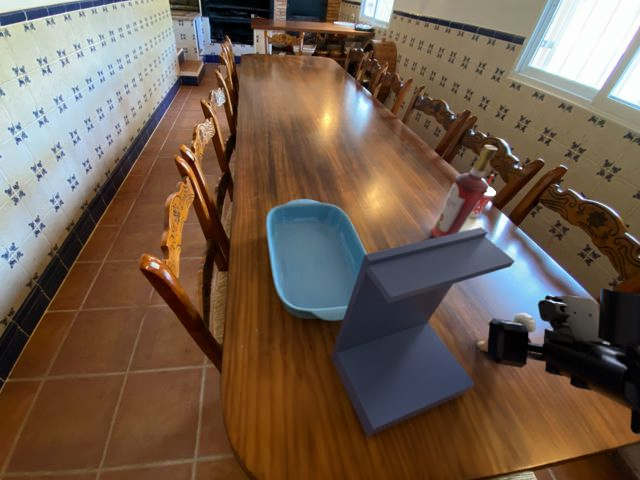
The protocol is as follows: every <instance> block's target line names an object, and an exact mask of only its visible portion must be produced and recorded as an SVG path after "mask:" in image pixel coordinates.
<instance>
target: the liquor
mask: <svg viewBox="0 0 640 480" xmlns="http://www.w3.org/2000/svg"><path fill="white" fill-rule="evenodd" d="M497 151H498V148H497V146H494V145H492V144H484V146H483V147H482V149H481V151H480V154H479V157H478V159H477V160H476V162H475V164H474V165H473V166H472V168H471V170H470V171H469V172H464V173H461V174H460V173H459V174H458V175H456V177H455V179H454V181H453V183H452V185H451V188H450V190H449V192H448V195H447V197H446V199H445V201H444V202H445V203H444V205H443V207H442V209H441V212H440V213H439V216H438V218H437V220H436V222H435V224H434V226H433V227H432V228H430V234H431V236H432V237H433V238H438V237H442V236H446V235H450V234H455V233H459V232H461V230H462V228H463V227H464V225H465V224H466V222H467V221H468V219H469V218H470V215H471V213H472V212H473V210H474V209H475V207H476V206H477V205H478V203H479V202H480V200H481V198H482V197H483V195H484V194H485V192H486V191H487V189H488V188H489V187H490V186H489V185H488V184H487V183H488V181H486V179H485V178H483V177H484V175H485V173H486V170H487V168H488V166H489V163H490V161H492V159H493V158H494V157H495V155H496V153H497Z"/></svg>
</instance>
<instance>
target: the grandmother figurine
mask: <svg viewBox="0 0 640 480" xmlns="http://www.w3.org/2000/svg"><path fill="white" fill-rule="evenodd" d="M500 320H502V319H500ZM505 320H506V321H510V320H509V319H505ZM490 321H491V320H488V321H487V325H488V326H489V325H490ZM512 322H516V323H520V324H523V325H525V327H526V329H527V331H528V333H533V332H535V331H536V329H537V324H536V321H535V320H534V317H533V316H531V315H529V314H528V313H526V312H518V313H516V314H515V315H514V319H513V320H512ZM528 342H529V343H532V340H531V338H530V337H529V338H528ZM476 345H477V348H478V349H479V350H481V351H482V352H487V348H488V337H486V338H485V339H484V340H481V341H478V342H477V343H476ZM527 352H529V351H527Z"/></svg>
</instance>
